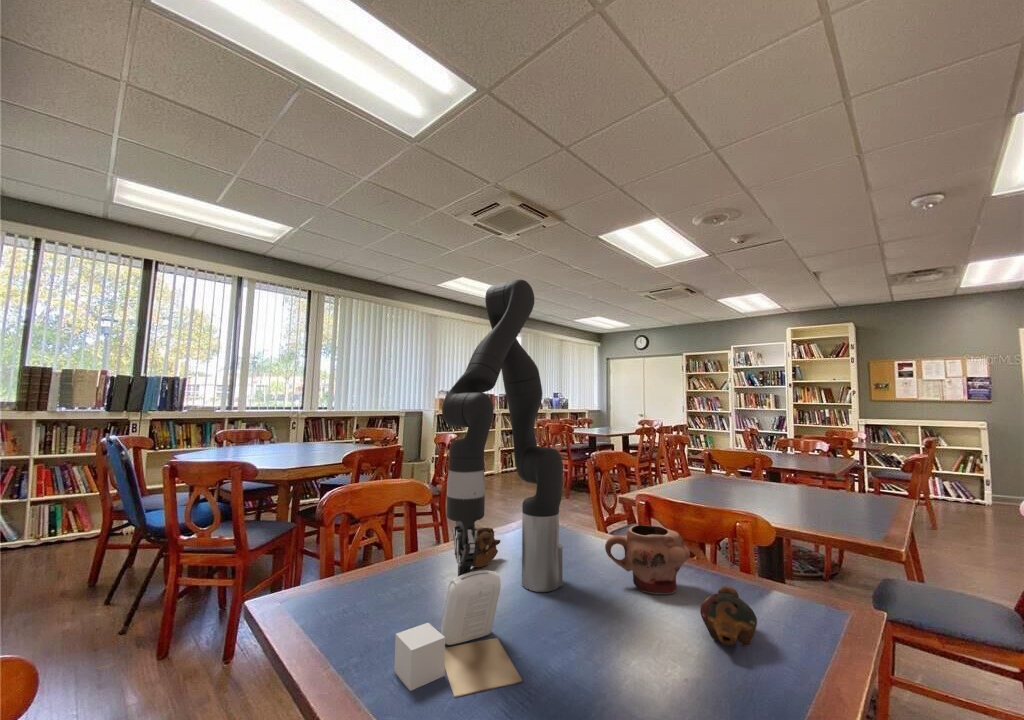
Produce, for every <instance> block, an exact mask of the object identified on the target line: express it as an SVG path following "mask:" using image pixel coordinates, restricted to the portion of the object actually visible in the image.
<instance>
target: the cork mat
mask: <svg viewBox="0 0 1024 720" xmlns="http://www.w3.org/2000/svg"><path fill="white" fill-rule="evenodd" d="M444 671H445V673H446V677H447V679H448V682H449V685H450V688H451V691H452V694H453V695H452V696H453V698H457V697H458V698H459V697H462V696H463V697H464V696H466V695H472V694H475V693H480V692H485V691H488V690H493V689H497V688H502V687H506V686H511V685H514V684H518V683H522V682H523V680H522V677H521V676H520V674H519V673H518V670H517V669H516V667H515V665H514V664H513V662H512V661H511V659H510V657H509V655H508V653H507V652H506V650H505V649H504V647H503V645H502V643H501V642H500V640H499V638H498V637H495V638H489V639H485V640H479V641H473V642H468V643H463V644H458V645H454V646H453V645H452V646H447V647H446V646H445V667H444Z"/></svg>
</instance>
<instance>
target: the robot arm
mask: <svg viewBox="0 0 1024 720" xmlns="http://www.w3.org/2000/svg"><path fill="white" fill-rule="evenodd" d="M532 287H533V286H532V285H531V284H530V283H529V282H528V281H527V280H524V279H514V280H509V281H506V282H501V283H497V284H493V285H491V286H489V287H487V290H486V292H485V299H484V301H485V309H486V313H487V316H488V321H489V324H490V327H491V330H490V331H489V332H488V334H486V336H484V337H483V339H482V340H480V342H479V343H478V345H477V346H476V348H475V349H474V351H473V353H472V355H471V357H470V359H469V363H468V364H467V366H466V369H465V371H464V372H463V374H462V375H461V376H460V377H459V378H458V380H456V382H455V383H454V385H453V386H452V387H451V389H450V390H449V391H448V392H447V394H446V395H445V397H444V400H443V403H442V407H441V414H442V415H441V416H442V419H443V421H444V422H445V423H446V424H447V425H448V426H451V427H455V428H456V427H457V428H467V431H466V434H465V435H464V438H459V439H455V440H453V441H452V442H451V443H450V445H449V449H448V450H449V451H448V452H449V454H448V475H447V480H446V481H447V483H446V509H445V511H446V518H447V519H448V520H450V521H453V522H455V526H453V527H452V537H453V539H452V540H453V546H454V555H455V556H454V557H455V559H456V557H457V559H456V563H457V577H458V576H461V575H463V574H466V573H469V572H472V569H471V568H472V567H471V565H474V564H475V560H476V557H477V553H478V550H479V543H478V542H477V543H475V542H476V538H477V529H476V525H475V524H476V522H477V521H479V520H482V519H483V518H484V517H485V507H486V506H485V500H486V497H485V496H486V495H485V494H486V479H485V449H486V445H487V441H488V437H489V434H490V433H489V432H490V430H491V426H492V423H493V422H492V421H493V420H494V419H493V418H494V412H495V409H494V404H493V402H492V399H491V397H490V396H489V395H488V394H487V393H486V392H489V391H491V390H492V389H494V387H495V386H496V385H497V381H498V379H499V376H500V373H501V374H502V375H501V376H502V382H503V386H504V392H505V397H506V402H507V406H508V412H509V417H510V426H511V431H512V432H511V433H512V440H513V441H512V442H513V443H512V444H513V452H514V454H513V455H514V456H513V457H514V464H515V469H516V473H517V475H518V477H519V478H520V479H521V480H522V481H523V482H525V483H529V484H530V483H531V484H536V490H535V494H534V495H533V496H530V497H526V498H524V499H523V500H522V504H521V506H522V508H521V509H522V511H521V512H522V515H521V517H522V518H521V519H522V521H521V522H522V523H521V524H522V525H521V529H522V530H521V533H522V534H521V557H522V558H521V585H522V587H523V586H524V587H523V588H525V589H527V590H528V589H529V591H531V592H537V593H546V592H553V591H555V590H557V589H558V588H561V587H563V586H564V585H563V584H564V583H563V581H564V574H563V569H564V567H563V565H564V564H563V561H564V558H563V552H564V551H563V545H562V544H561V543H560V506H561V502H562V499H563V478H564V477H563V476H564V475H563V474H564V463H563V458H562V455H561V453H560V452H559V450H557V449H555V448H552V447H546V446H539V445H537V440H536V435H535V434H536V433H535V422H536V419H537V416H538V413H539V410H540V407H541V404H542V400H543V387H542V382H541V376H540V372H539V367H538V365H537V364H536V362H535V361H534V360H533V358H532V357H531V356H530V354H528V353H527V351H526V350H525V349H524V348H523V346H522V345H521V344H520V342H519V341H518V339H517V338H518V336H519V335H520V332H521V331H522V330H523V327H524V326H525V324H526V323H527V321H528V319H529V317H530V316H531V313H532V312H533V310H534V306H535V293H534V290H533V288H532Z"/></svg>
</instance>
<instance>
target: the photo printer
mask: <svg viewBox="0 0 1024 720" xmlns="http://www.w3.org/2000/svg"><path fill="white" fill-rule="evenodd" d="M500 592H501V577H500V575H499V574H498V573H497V572H496V571H493V570H481V569H480V570H474V571H471V572H469V573H466V574H463V575H461V576H458V575H457V576H456V577H454V578H453V579H452V580H450V582H449V584H448V590H447V594H446V598H445V605H444V610H443V615H442V618H441V619H442V621H441V623H440V624H441V625H440V633H441V634H442V635H443V636H444V637H445V645H448V646H450V645H452V646H453V645H456V644H461V643H465V642H468V641H471V640H475V639H480V638H482V637H486V636H488V635H490V634H491V633H492V631H493V627H494V620H495V616H496V611H497V606H498V601H499V596H500Z"/></svg>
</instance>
